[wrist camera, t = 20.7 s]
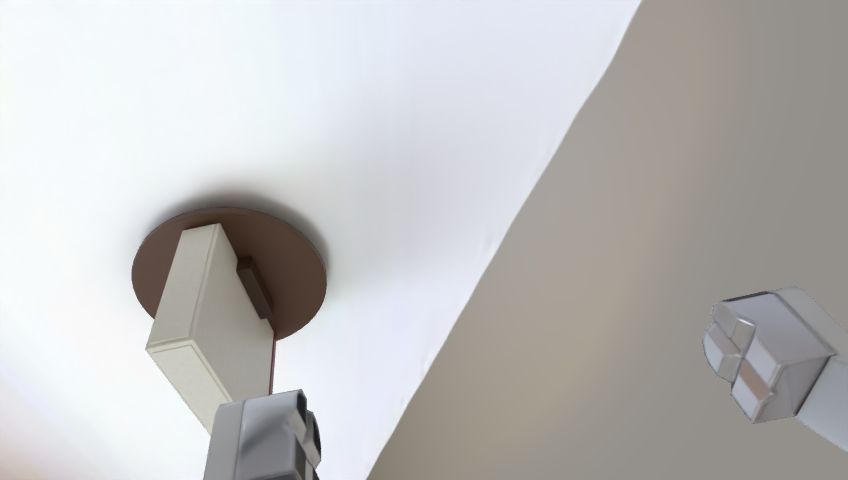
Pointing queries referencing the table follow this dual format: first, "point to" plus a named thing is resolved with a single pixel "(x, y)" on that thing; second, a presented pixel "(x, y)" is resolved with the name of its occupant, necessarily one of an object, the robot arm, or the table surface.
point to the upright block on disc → (224, 301)
